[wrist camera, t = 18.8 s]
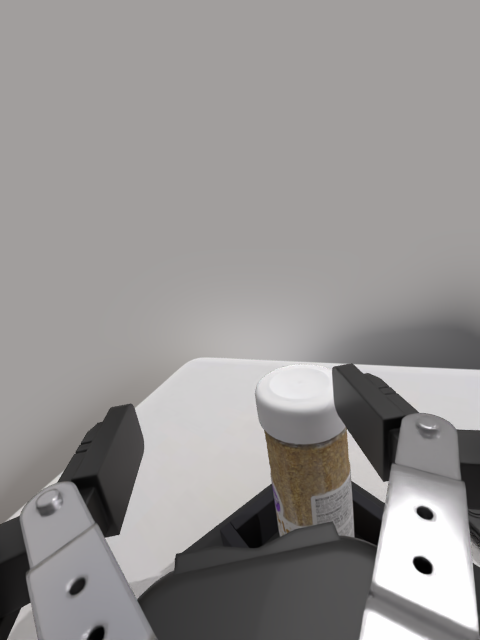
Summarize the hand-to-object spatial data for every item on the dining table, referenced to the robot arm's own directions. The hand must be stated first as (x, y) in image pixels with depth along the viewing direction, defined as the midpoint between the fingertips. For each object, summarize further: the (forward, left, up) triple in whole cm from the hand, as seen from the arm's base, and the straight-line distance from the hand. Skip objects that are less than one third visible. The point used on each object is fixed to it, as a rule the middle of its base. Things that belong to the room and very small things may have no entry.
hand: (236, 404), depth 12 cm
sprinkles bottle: (+4, +1, -15) cm, 15 cm away
